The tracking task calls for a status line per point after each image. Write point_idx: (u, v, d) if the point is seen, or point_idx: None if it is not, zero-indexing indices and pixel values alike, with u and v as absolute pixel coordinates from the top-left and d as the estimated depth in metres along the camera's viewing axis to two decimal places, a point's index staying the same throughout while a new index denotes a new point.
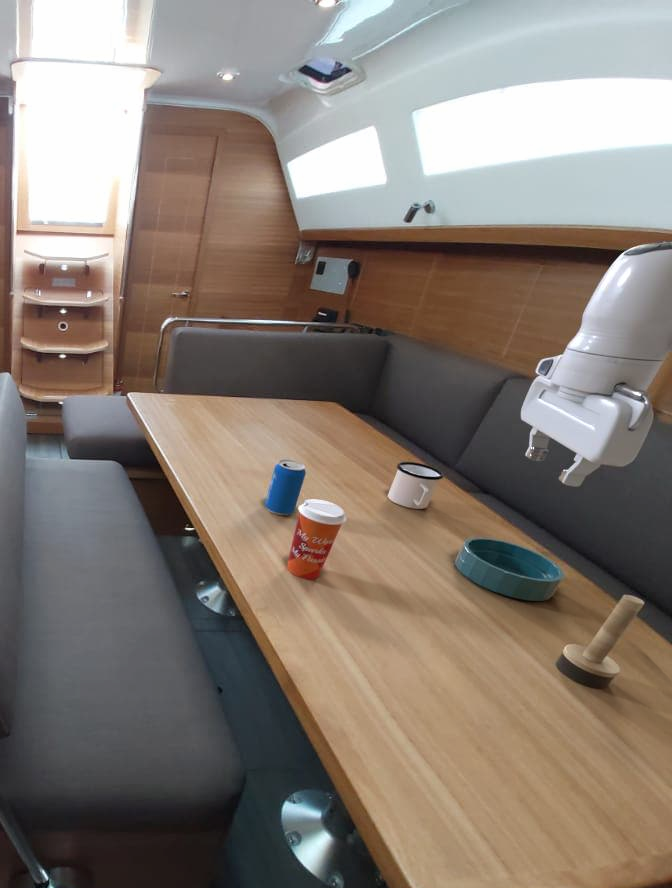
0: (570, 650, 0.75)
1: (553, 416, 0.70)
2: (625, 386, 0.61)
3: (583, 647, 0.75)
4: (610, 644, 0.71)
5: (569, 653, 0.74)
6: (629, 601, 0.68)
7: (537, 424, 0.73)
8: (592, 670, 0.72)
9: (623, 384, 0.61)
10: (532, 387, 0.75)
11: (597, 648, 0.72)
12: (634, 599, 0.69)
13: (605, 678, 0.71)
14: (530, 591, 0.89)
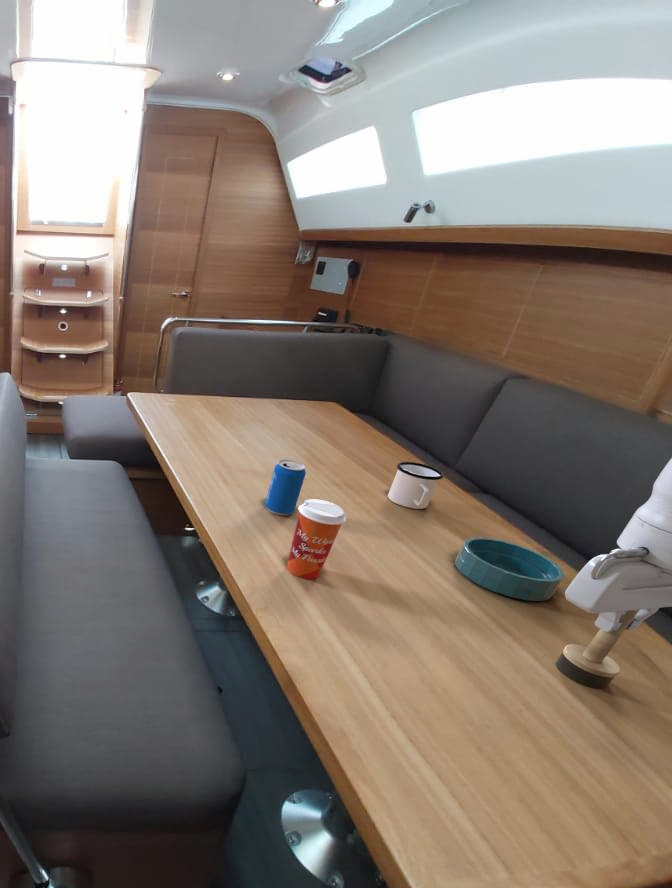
0: (570, 650, 0.75)
1: None
2: (633, 547, 0.64)
3: (583, 647, 0.75)
4: (610, 644, 0.71)
5: (569, 653, 0.74)
6: None
7: None
8: (592, 670, 0.72)
9: (641, 547, 0.64)
10: None
11: (597, 648, 0.72)
12: None
13: (605, 678, 0.71)
14: (530, 591, 0.89)
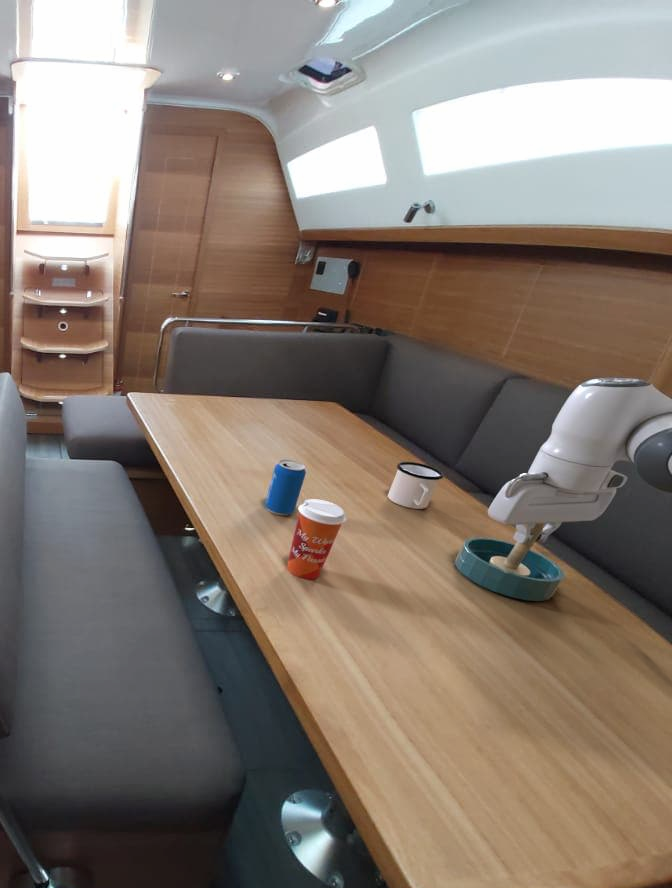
0: (494, 560, 0.95)
1: None
2: (536, 473, 0.84)
3: (505, 558, 0.96)
4: (523, 552, 0.91)
5: (493, 562, 0.94)
6: None
7: None
8: None
9: (542, 472, 0.84)
10: None
11: (514, 556, 0.92)
12: None
13: None
14: (530, 591, 0.89)
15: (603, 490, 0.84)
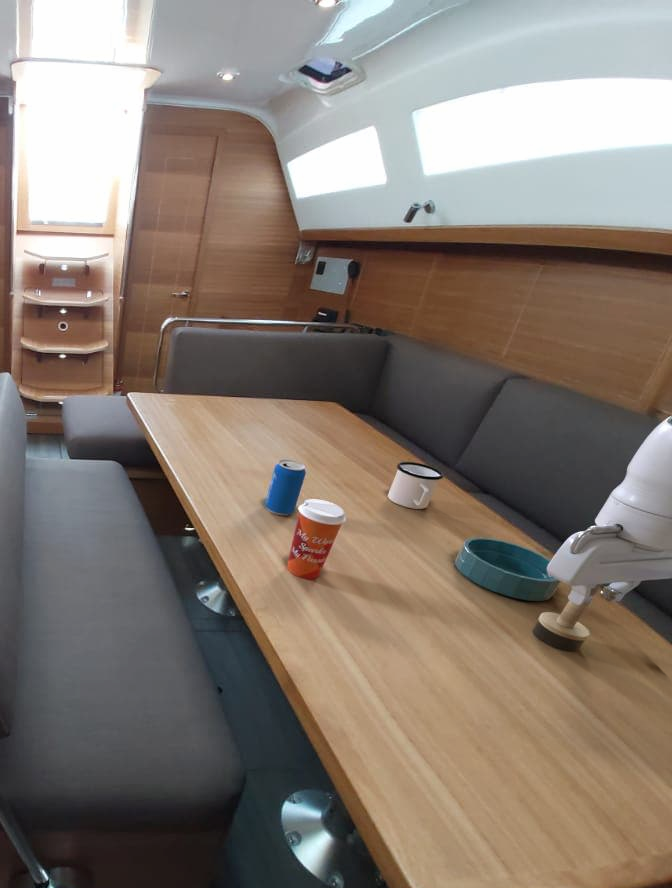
0: (545, 617, 0.81)
1: None
2: (608, 525, 0.70)
3: (557, 614, 0.82)
4: (580, 610, 0.78)
5: (544, 620, 0.81)
6: None
7: None
8: (564, 634, 0.78)
9: (615, 524, 0.70)
10: None
11: (569, 614, 0.79)
12: None
13: (576, 641, 0.78)
14: (530, 591, 0.89)
15: None
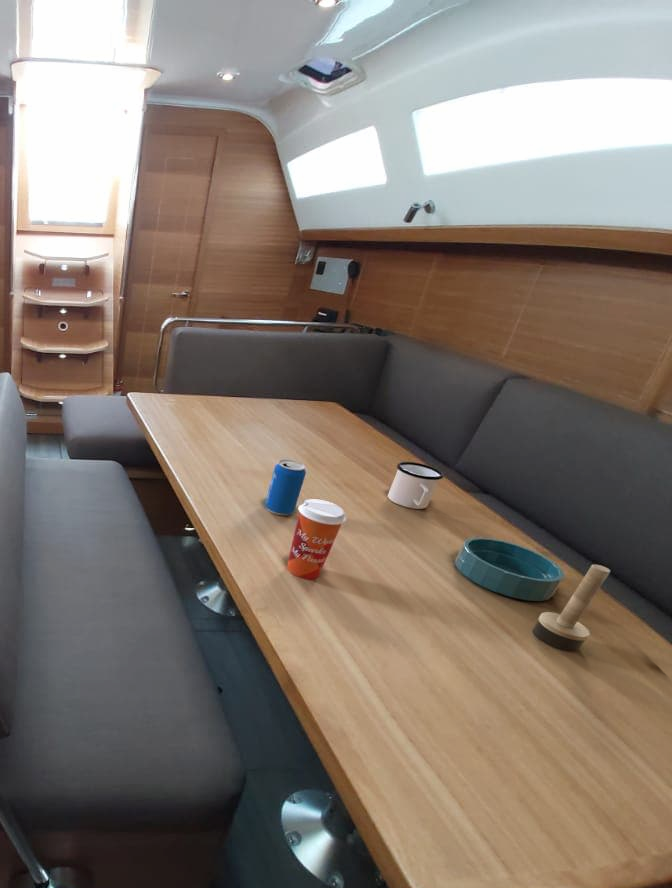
0: (545, 617, 0.81)
1: None
2: None
3: (557, 614, 0.82)
4: (580, 610, 0.78)
5: (544, 620, 0.81)
6: (597, 570, 0.75)
7: None
8: (564, 634, 0.78)
9: None
10: None
11: (569, 614, 0.79)
12: (601, 568, 0.75)
13: (576, 641, 0.78)
14: (530, 591, 0.89)
15: None
